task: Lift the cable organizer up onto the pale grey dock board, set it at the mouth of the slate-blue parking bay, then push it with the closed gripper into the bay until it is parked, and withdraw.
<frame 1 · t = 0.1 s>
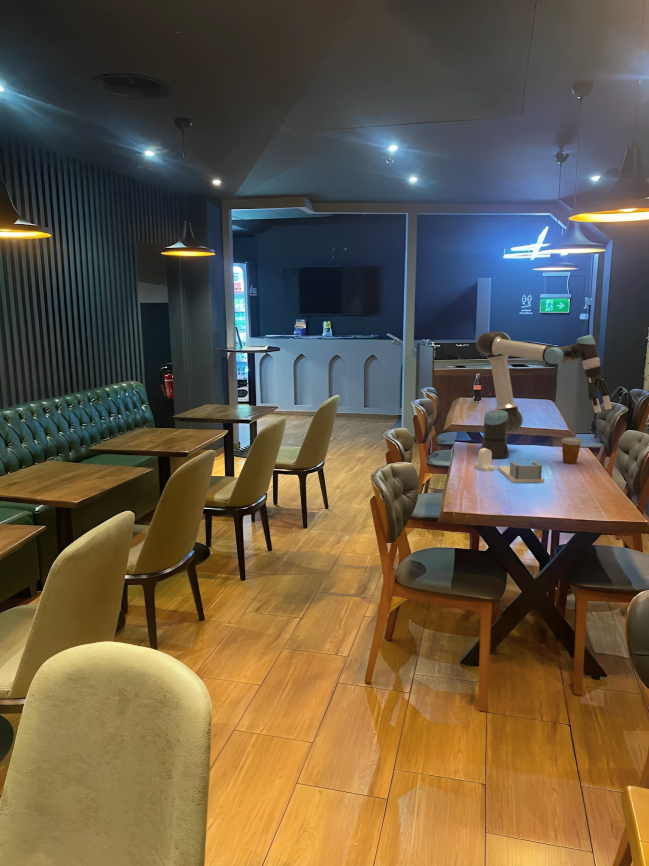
hand: (603, 410, 297), 28 cm above the table, tool tilted 20°, fingers open, 13 cm apart
disposable coffee cup: (569, 462, 312), on the table
dock: (519, 475, 288), on the table
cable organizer: (484, 469, 300), on the table
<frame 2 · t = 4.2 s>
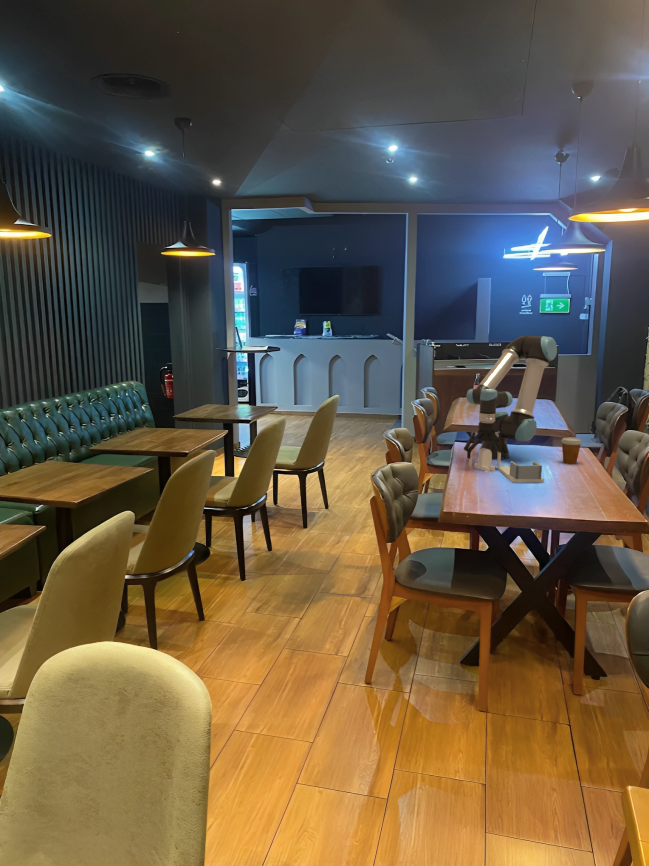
hand: (484, 465, 299), 2 cm above the table, tool pointing down, fingers open, 13 cm apart
nothing on the table moved.
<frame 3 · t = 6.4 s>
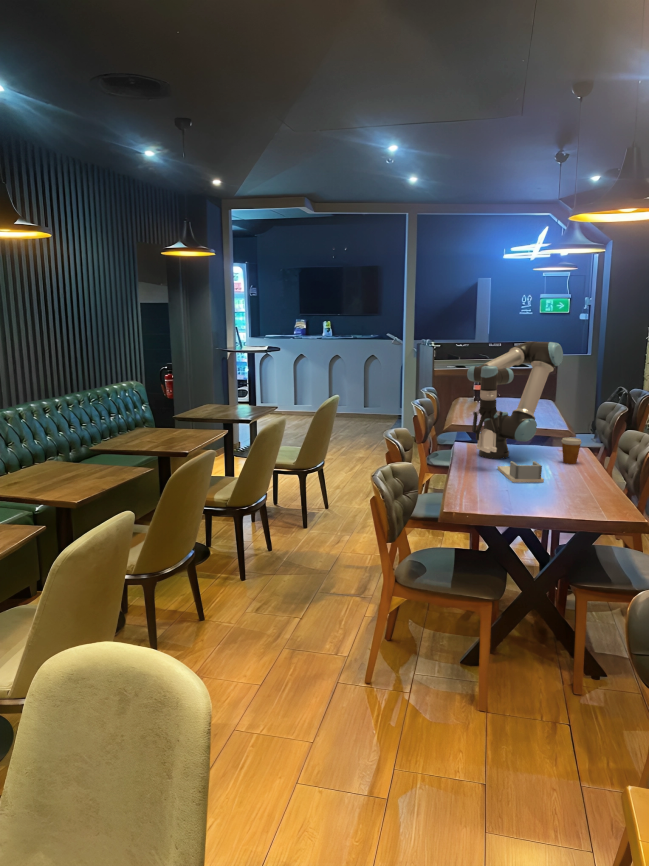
hand: (486, 446, 298), 11 cm above the table, tool pointing down, fingers closed on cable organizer, 6 cm apart
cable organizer: (486, 450, 298), point 9 cm above the table, touching gripper
everything else where it was.
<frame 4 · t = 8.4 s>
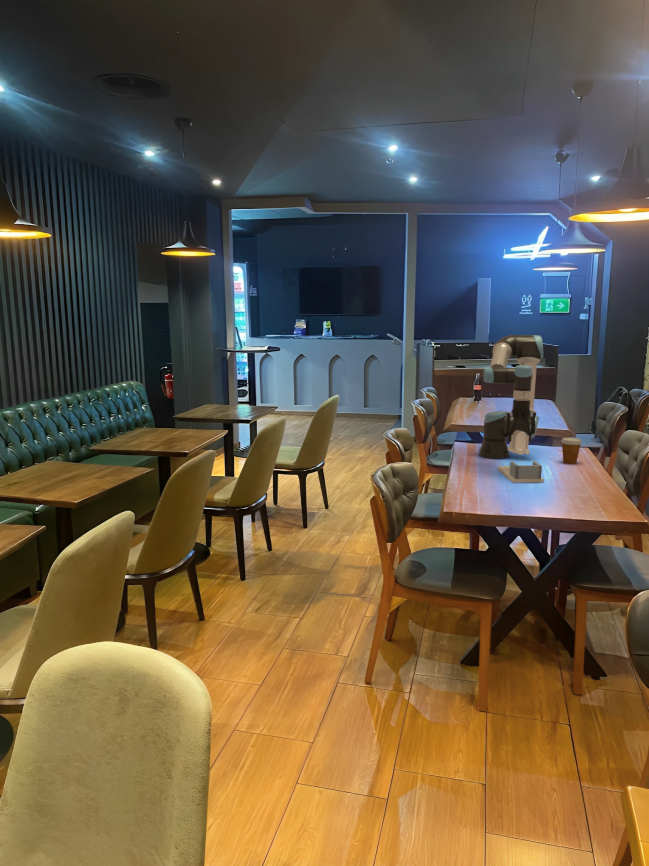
hand: (518, 448, 289), 12 cm above the table, tool pointing down, fingers closed on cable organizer, 6 cm apart
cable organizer: (518, 452, 289), point 10 cm above the table, touching gripper
everything else where it was.
when the fingers open (2 cm above the table, at t = 10.7 s): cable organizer stays where it is, resting on dock.
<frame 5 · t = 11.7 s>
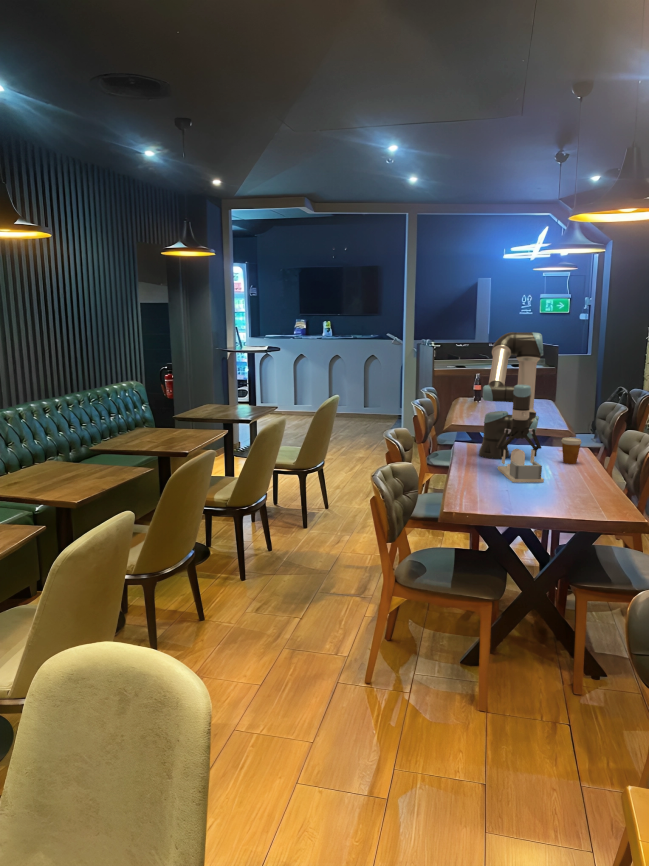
hand: (517, 463, 291), 5 cm above the table, tool pointing down, fingers open, 13 cm apart
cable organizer: (517, 470, 291), point 1 cm above the table, touching dock
everything else where it was.
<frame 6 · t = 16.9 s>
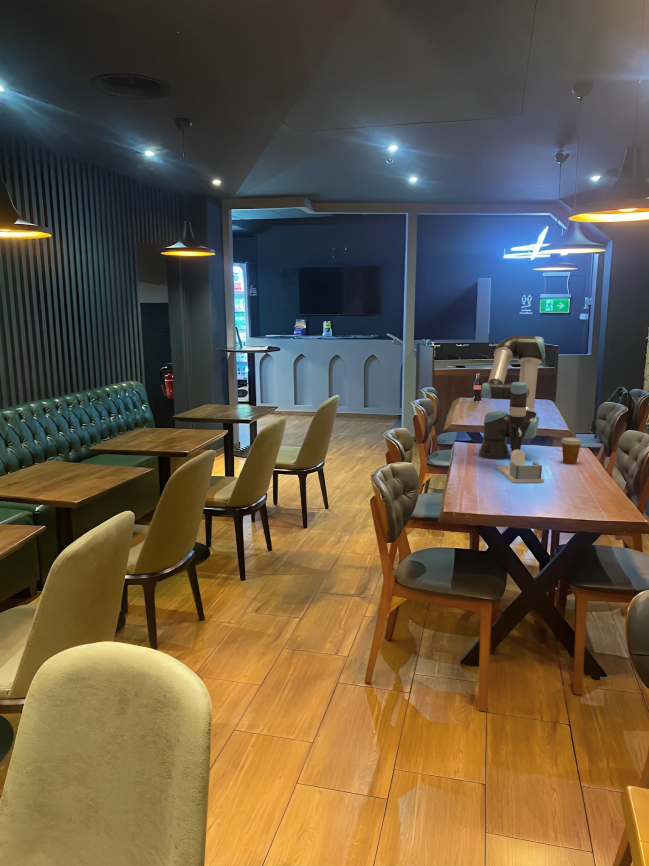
hand: (514, 464, 295), 3 cm above the table, tool pointing down, fingers closed
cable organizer: (517, 471, 290), point 1 cm above the table, touching gripper
everything else where it was.
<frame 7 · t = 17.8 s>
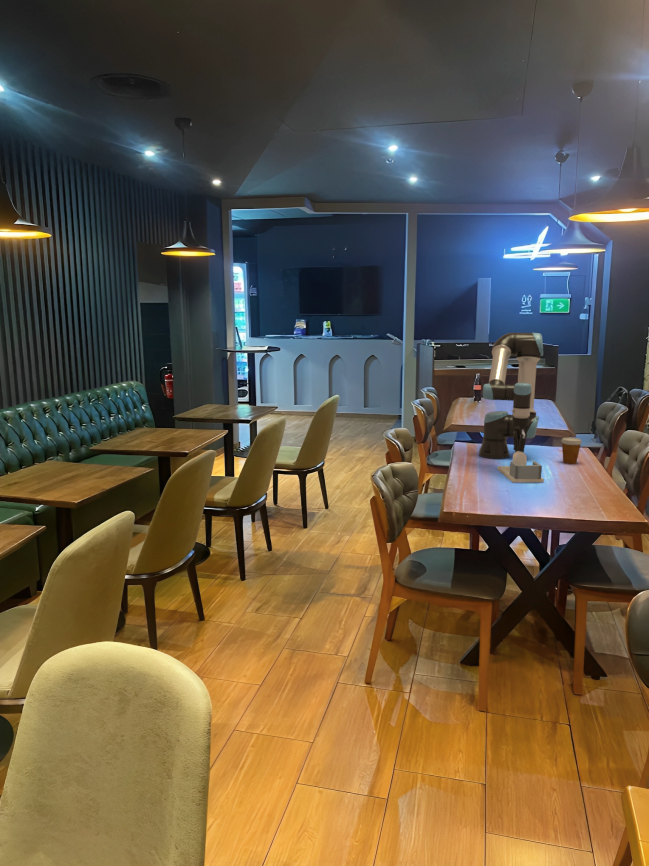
hand: (517, 466, 291), 3 cm above the table, tool pointing down, fingers closed
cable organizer: (518, 473, 286), point 1 cm above the table, touching dock, gripper, hand
everything else where it was.
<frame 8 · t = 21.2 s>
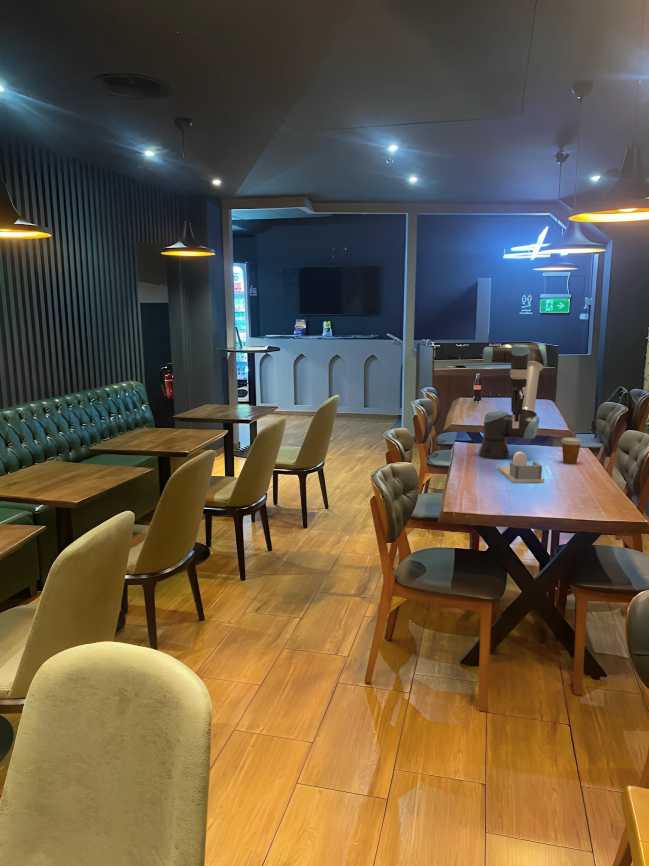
hand: (515, 427, 294), 20 cm above the table, tool pointing down, fingers closed
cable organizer: (519, 474, 285), point 1 cm above the table, touching dock
everything else where it was.
at the end: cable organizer inside the target area (2.3 cm from its centre), point 1.3 cm above the table; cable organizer tilted 0°; the gripper is holding nothing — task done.
